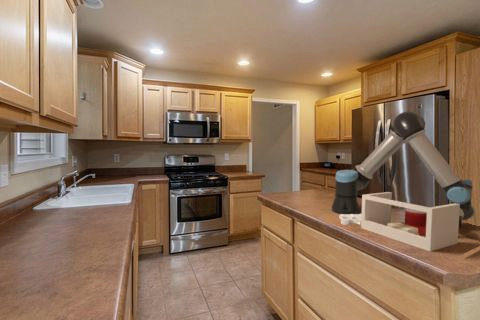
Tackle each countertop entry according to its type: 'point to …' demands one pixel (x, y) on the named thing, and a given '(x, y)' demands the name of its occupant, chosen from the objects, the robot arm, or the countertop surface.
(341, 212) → the robot arm
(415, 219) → the canned food
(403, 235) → the rack
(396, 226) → the offcut top
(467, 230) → the countertop surface
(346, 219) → the white brass knuckles
